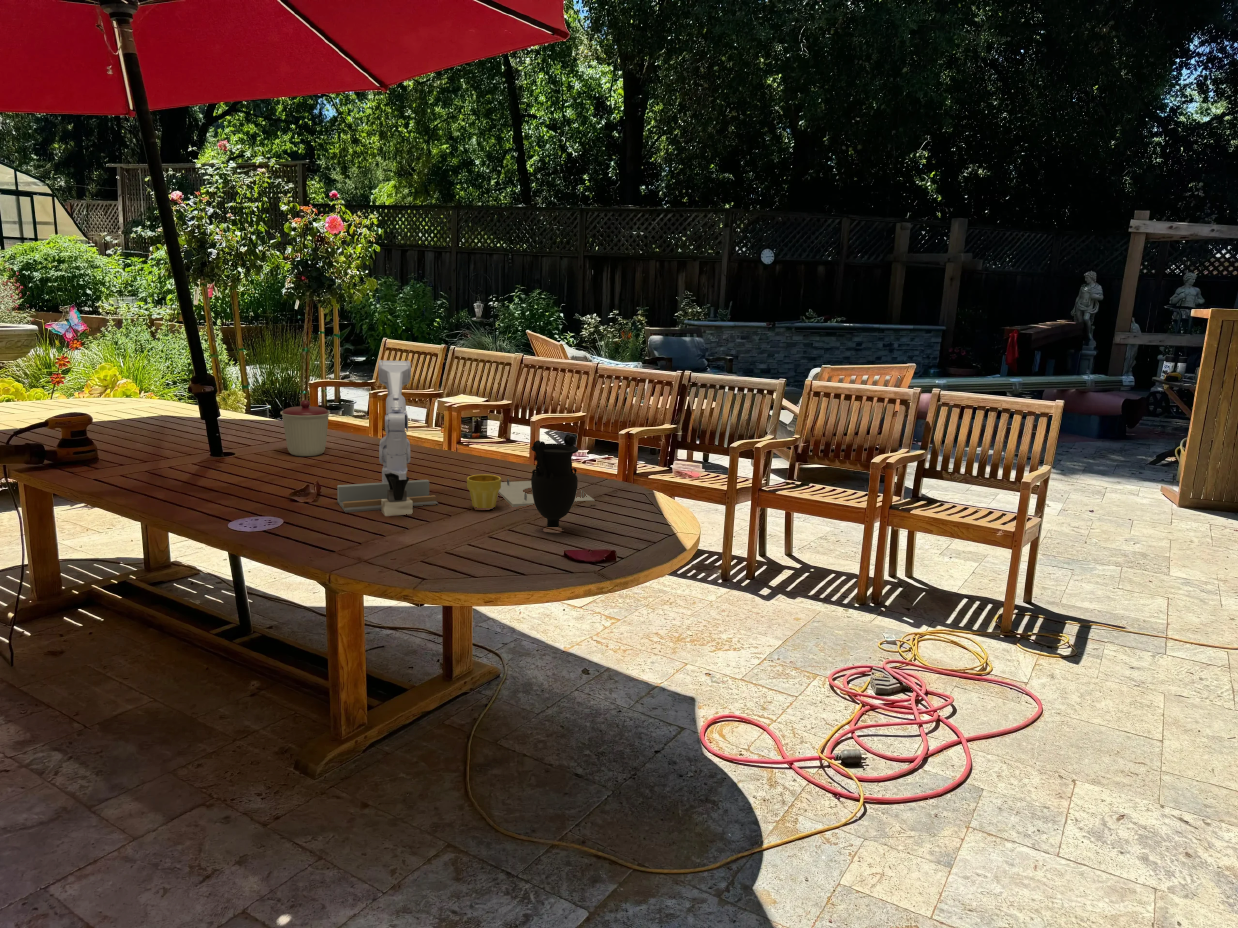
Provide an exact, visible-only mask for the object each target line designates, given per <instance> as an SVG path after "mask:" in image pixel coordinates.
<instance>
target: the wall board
mask: <svg viewBox="0 0 1238 928" xmlns="http://www.w3.org/2000/svg"><path fill="white" fill-rule="evenodd" d="M336 487H337V488H336V489H337V490H336V491H337V500H336V503H337V504H338V505H339V506H340V508H341V509H342V511H344V512H345V513H346V514H347V513H356V512H357V513H358V512H370V511H382V503H381V499H387V490H390V487H389V483H388V482H382V481H381V482H370V483H369V482H368V483H354V484H353V483H352V484H340V485H339V484H337V486H336ZM405 490H406V491H407V497H408V498H409V499H411V500H412V501H413V506H423V505H433V504H438V505H439V502H438V501H437V496H436V495H434V494H433V495H430V480H428V479H417V480H416V479H415V480H409V481H408V482H407V484H406V487H405ZM423 507H424V506H423Z"/></svg>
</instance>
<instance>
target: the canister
mask: <svg viewBox="0 0 1238 928" xmlns="http://www.w3.org/2000/svg"><path fill="white" fill-rule="evenodd" d="M279 414H280V415H282V423H283V430H284V437H285V442H286V448H287V451H288V453H290V455H292V456H295V457H315V456H320V455H322V454H323V453H324V452H325V449H326V446H327V437H328V428H329V427H328V426H329V416H330V414H331V411H330V410H328V409H326V408H325V407H321V406H311V402H310V400H307V399H303V400H301V401H300V406H293V407H292V406H291V407H287V408H285V409H283V410H281V411H280V413H279Z"/></svg>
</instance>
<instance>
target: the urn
mask: <svg viewBox="0 0 1238 928" xmlns="http://www.w3.org/2000/svg"><path fill="white" fill-rule="evenodd" d="M563 442H564V443H545V442H544V441H541V440H535V441H534V442H533V444H532V446H531V448H530V449H531V451H533V452H535V455H536V465H535V469H533V470H532V472H531V478H530V481H531V485H532V493H533V494H532V495H533V499H534V503H535V506H536V508H537V511H538V513H539V514H540V515H541V516H542V517H544V518H546V520H547V521H546V522H547V523H546V527H558V526H559V527H560V519H562V518H564V517H566V516H567V515H568V514H569V512H570V510H571V509H572V508H571V507H572V505H573V503H574V500H575V497H576V493H577V488H578V483H579V481H578V475H577V471H578V470H577V468H575V467H573V462H572V457H573V454H577V453H578V452H579V448H578V447H577V446H575V444H576V442H577V438H576V436H573V435H570V434H565V436H564V438H563Z"/></svg>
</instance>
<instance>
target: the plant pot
mask: <svg viewBox="0 0 1238 928" xmlns="http://www.w3.org/2000/svg"><path fill="white" fill-rule="evenodd" d="M501 482H502V478H501V477H500V476H498V475H494V474H487V473H486V474H484V473H483V474H474V475H469V476H468V477H467V478H466V488H467V490H469V495H470V499H471V504H472V507H473V506H474V507H477V508H492V507H495V508H496V504H497V500H498V491H499V490H500V489H501Z"/></svg>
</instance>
